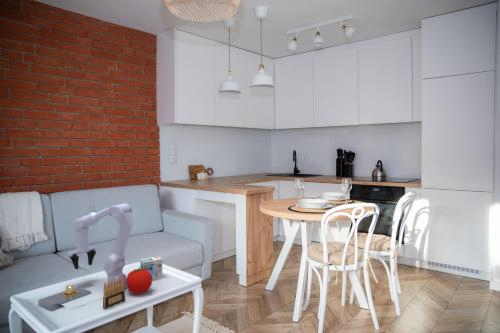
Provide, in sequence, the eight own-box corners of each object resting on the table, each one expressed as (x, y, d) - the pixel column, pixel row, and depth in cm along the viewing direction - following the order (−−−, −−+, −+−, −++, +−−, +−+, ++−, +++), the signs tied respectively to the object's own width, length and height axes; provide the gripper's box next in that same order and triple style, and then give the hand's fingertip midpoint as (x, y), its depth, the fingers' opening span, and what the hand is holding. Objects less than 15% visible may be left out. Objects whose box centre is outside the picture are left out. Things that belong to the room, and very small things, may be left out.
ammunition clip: (105, 309, 163) (104, 282, 163) (102, 308, 164) (101, 281, 164) (125, 300, 172) (124, 275, 172) (122, 300, 173) (121, 274, 173)
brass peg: (75, 298, 176) (75, 286, 176) (68, 300, 173) (67, 288, 173) (72, 296, 178) (71, 284, 178) (65, 299, 176) (64, 286, 175)
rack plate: (91, 296, 178) (91, 291, 178) (52, 311, 163) (51, 304, 162) (77, 291, 185) (77, 286, 185) (38, 305, 169) (38, 299, 169)
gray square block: (95, 287, 190) (95, 284, 190) (84, 291, 185) (84, 288, 185) (88, 285, 193) (88, 282, 193) (78, 289, 188) (77, 286, 188)
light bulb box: (144, 282, 197) (143, 262, 196) (140, 278, 202) (139, 259, 202) (163, 278, 203) (162, 258, 202) (159, 274, 208) (158, 255, 208)
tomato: (145, 285, 191) (144, 263, 191) (157, 292, 181) (156, 269, 181) (122, 291, 183) (121, 269, 183) (133, 299, 173) (132, 275, 173)
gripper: (90, 237, 199) (91, 262, 200) (64, 243, 188) (65, 269, 188) (98, 238, 196) (99, 264, 196) (72, 244, 184) (73, 271, 184)
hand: (83, 266), depth 192 cm, fingers open, 7 cm apart
